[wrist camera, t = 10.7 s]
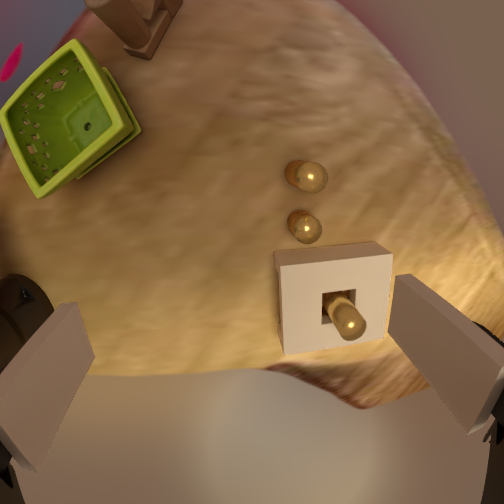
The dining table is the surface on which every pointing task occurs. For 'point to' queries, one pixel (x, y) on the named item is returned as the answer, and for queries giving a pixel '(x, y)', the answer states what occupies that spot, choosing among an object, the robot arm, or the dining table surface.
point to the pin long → (344, 315)
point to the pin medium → (306, 175)
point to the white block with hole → (330, 280)
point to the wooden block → (136, 21)
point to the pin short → (304, 226)
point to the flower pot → (66, 119)
